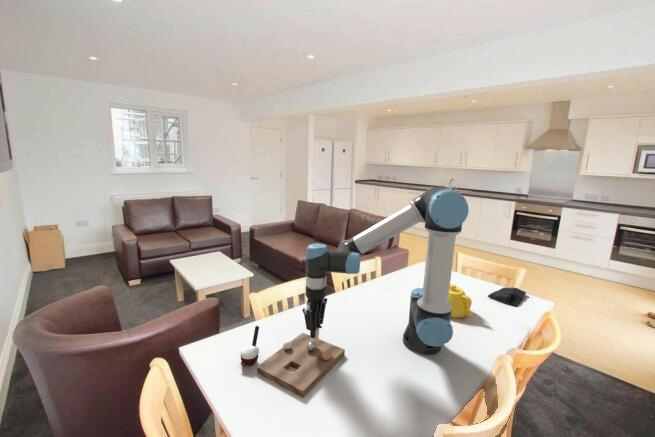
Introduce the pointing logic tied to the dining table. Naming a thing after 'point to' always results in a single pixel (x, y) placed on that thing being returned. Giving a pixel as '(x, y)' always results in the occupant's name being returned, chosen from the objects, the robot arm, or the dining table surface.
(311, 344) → the ball
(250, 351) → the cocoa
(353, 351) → the dining table surface
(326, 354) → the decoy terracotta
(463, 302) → the teapot
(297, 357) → the board
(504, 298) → the dark slate chunk
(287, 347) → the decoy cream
